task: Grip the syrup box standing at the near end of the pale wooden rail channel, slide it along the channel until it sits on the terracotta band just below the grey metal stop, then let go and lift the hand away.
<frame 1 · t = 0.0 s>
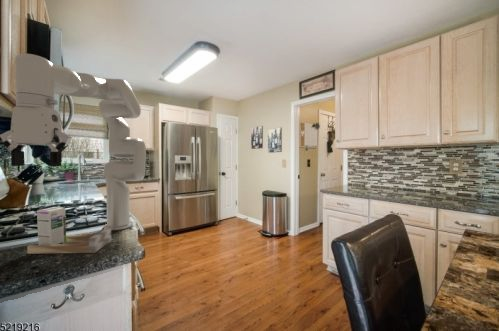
hand: (37, 165, 62), 31 cm above the worktop, tool pointing down, fingers open, 9 cm apart
syrup box: (52, 247, 83), on the worktop
rail channel: (69, 246, 84), on the worktop
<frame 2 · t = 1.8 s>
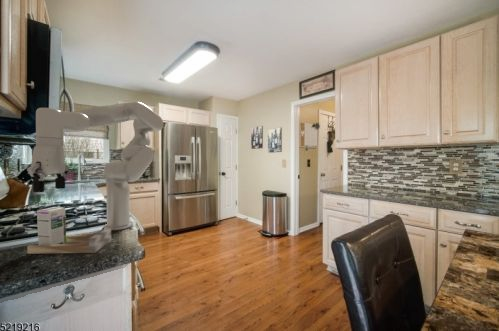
hand: (50, 190, 82), 21 cm above the worktop, tool pointing down, fingers open, 9 cm apart
nothing on the worktop moved.
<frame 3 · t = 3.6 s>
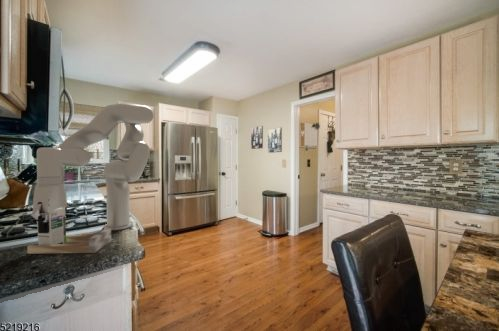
hand: (52, 229, 83), 7 cm above the worktop, tool pointing down, fingers closed on syrup box, 6 cm apart
syrup box: (52, 247, 83), on the worktop, touching gripper
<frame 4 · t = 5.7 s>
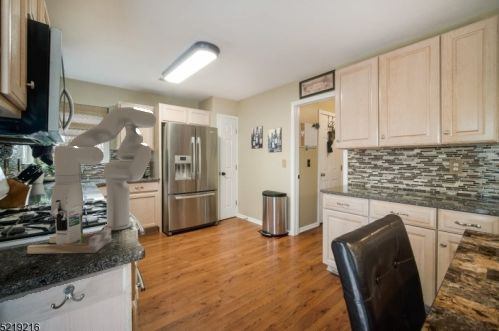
hand: (69, 226, 84), 7 cm above the worktop, tool pointing down, fingers closed on syrup box, 6 cm apart
syrup box: (70, 245, 84), point 1 cm above the worktop, touching gripper
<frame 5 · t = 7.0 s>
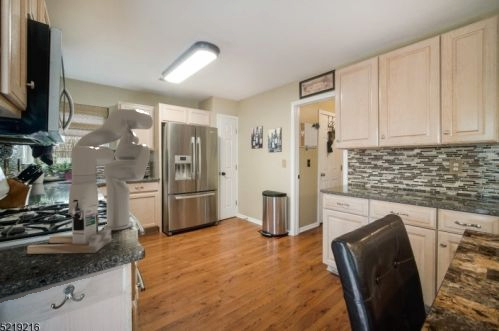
hand: (85, 226, 84), 8 cm above the worktop, tool pointing down, fingers closed on syrup box, 6 cm apart
syrup box: (85, 244, 84), point 1 cm above the worktop, touching gripper
when the fingers open (7 cm above the worktop, at t = 7.9 s): syrup box stays where it is, on the worktop.
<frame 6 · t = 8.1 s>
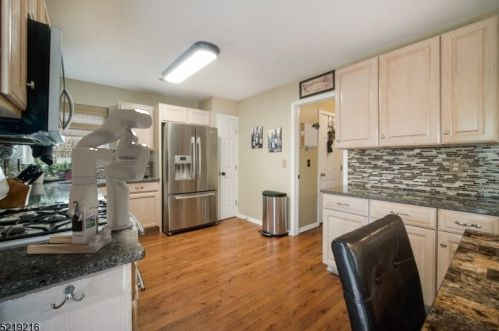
hand: (85, 227, 84), 7 cm above the worktop, tool pointing down, fingers open, 8 cm apart
syrup box: (85, 247, 84), on the worktop
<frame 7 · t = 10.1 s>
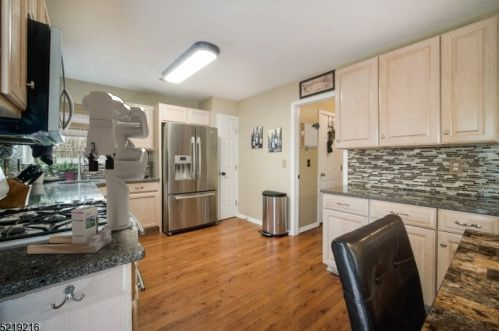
hand: (102, 170, 86), 28 cm above the worktop, tool pointing down, fingers open, 9 cm apart
nothing on the worktop moved.
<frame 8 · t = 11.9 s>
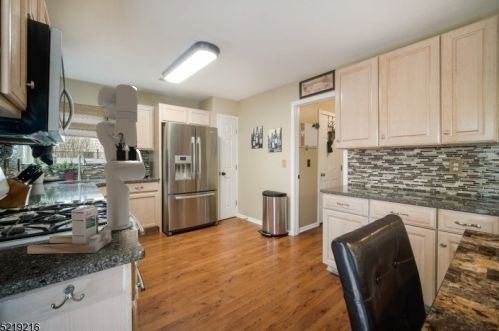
hand: (127, 160, 90), 32 cm above the worktop, tool pointing down, fingers open, 9 cm apart
nothing on the worktop moved.
at the end: syrup box 0.4 cm from the target spot, on the worktop; syrup box tilted 0°; the gripper is holding nothing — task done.
